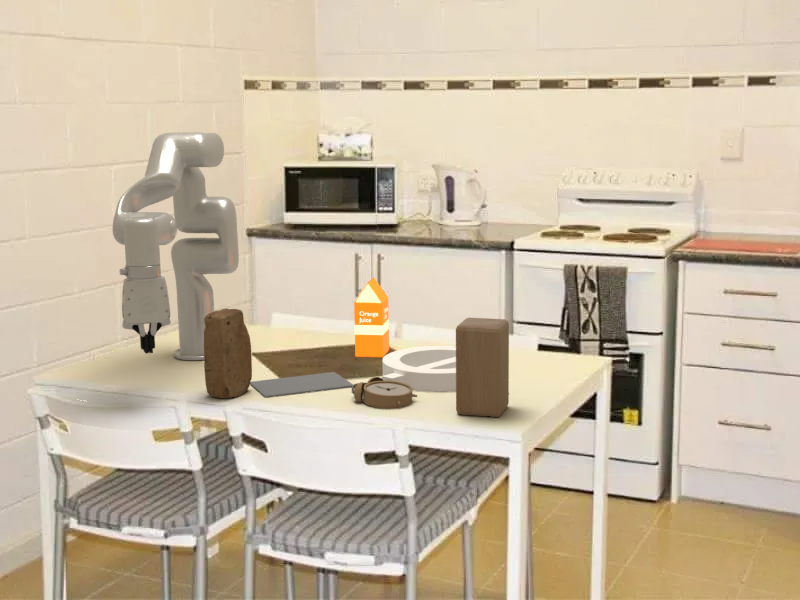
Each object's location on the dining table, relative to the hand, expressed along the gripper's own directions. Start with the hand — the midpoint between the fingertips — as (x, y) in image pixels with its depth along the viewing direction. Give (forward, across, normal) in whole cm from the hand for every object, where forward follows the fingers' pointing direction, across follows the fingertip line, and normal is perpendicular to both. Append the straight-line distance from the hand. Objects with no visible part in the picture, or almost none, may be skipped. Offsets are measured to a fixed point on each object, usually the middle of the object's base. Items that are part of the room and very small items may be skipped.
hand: (148, 351), depth 262 cm
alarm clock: (+13, +48, -21) cm, 54 cm away
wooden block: (+12, +66, -38) cm, 77 cm away
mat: (+12, +36, 0) cm, 38 cm away
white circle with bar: (+13, +70, -7) cm, 71 cm away
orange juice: (+12, +63, +23) cm, 69 cm away
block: (+12, +18, 0) cm, 22 cm away
